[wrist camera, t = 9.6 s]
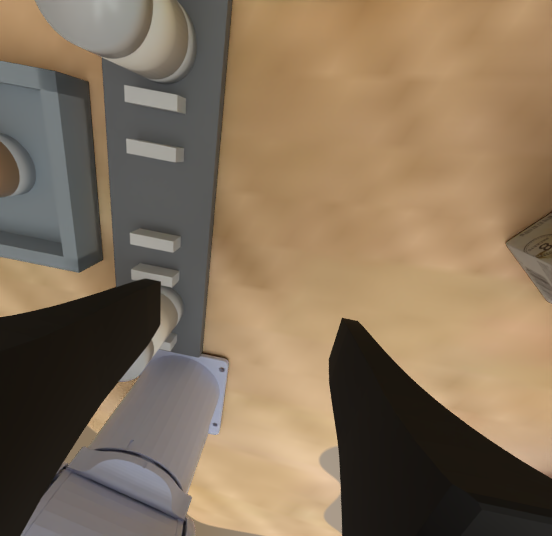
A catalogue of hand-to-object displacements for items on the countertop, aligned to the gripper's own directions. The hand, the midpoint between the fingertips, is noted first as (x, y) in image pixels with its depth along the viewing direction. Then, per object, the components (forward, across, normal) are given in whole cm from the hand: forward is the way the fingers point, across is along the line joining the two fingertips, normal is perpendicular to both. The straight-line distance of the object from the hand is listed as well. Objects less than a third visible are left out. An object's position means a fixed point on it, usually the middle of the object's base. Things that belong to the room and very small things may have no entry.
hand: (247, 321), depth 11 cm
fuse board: (+10, +8, -2) cm, 13 cm away
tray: (+10, +19, -2) cm, 22 cm away
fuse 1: (+9, +8, -10) cm, 16 cm away
